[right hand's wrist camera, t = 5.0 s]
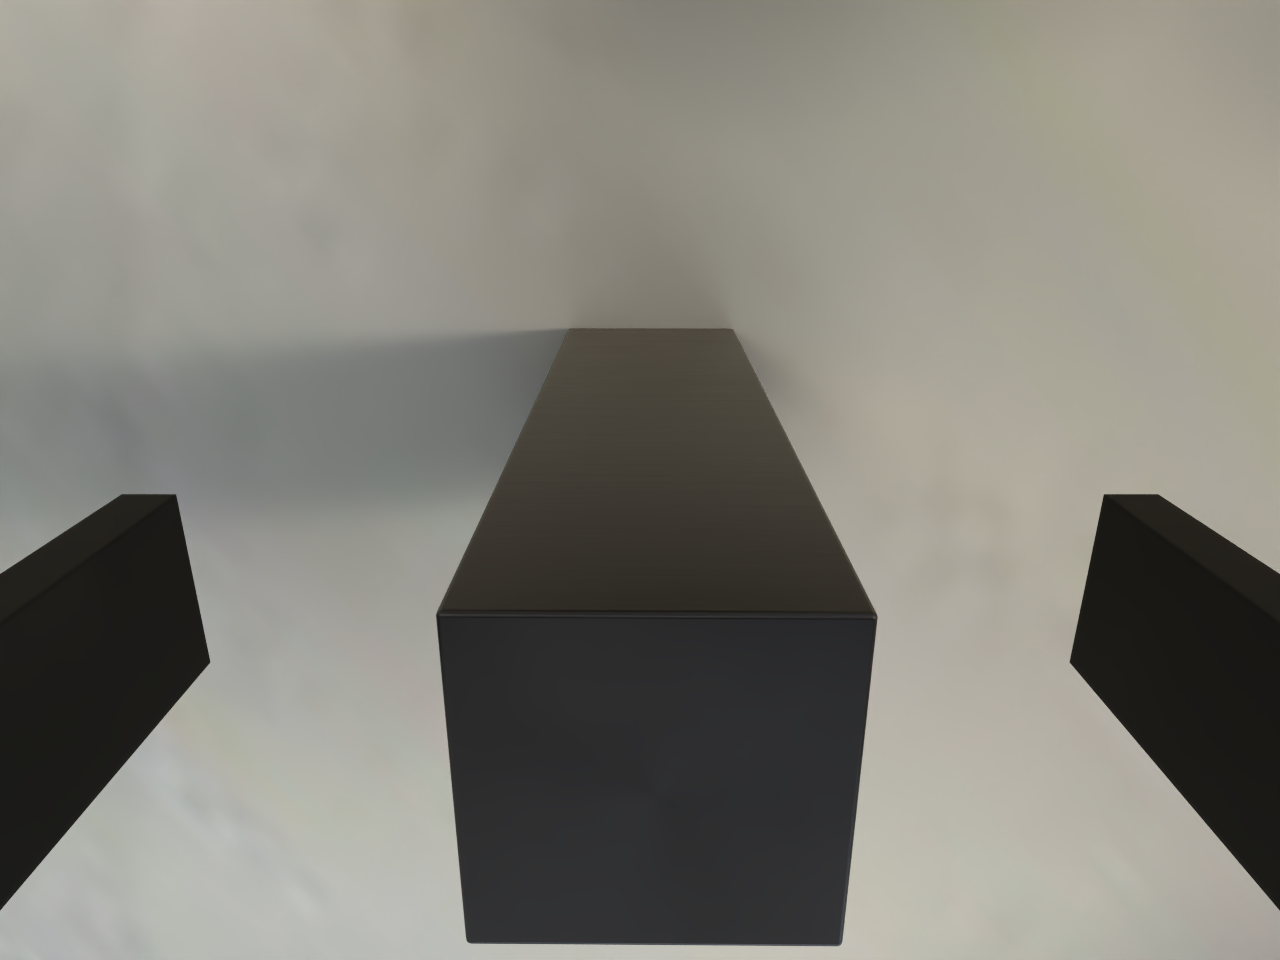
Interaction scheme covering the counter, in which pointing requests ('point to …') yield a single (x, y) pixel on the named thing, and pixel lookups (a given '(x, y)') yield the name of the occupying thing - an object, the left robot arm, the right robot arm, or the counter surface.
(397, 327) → the counter surface
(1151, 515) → the right robot arm
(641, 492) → the peg
